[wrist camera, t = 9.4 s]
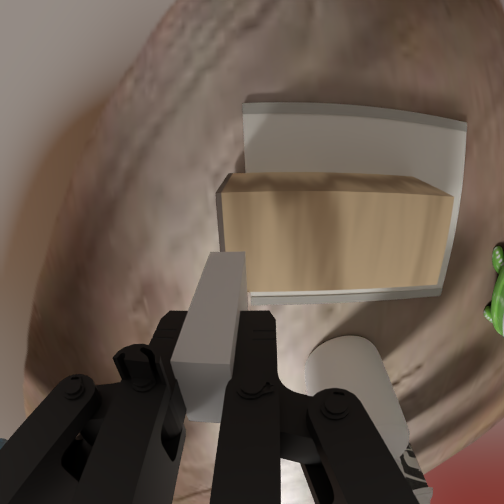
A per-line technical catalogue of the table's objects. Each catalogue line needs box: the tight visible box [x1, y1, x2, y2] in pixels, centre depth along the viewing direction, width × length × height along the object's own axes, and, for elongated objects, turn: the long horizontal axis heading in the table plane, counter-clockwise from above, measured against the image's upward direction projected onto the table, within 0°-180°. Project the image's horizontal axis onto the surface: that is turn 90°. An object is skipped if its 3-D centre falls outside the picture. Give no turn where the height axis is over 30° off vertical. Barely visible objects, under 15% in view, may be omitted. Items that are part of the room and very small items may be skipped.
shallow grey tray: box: [242, 102, 467, 305], centre depth 22 cm, size 18×16×1 cm
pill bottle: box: [305, 336, 409, 478], centre depth 22 cm, size 8×8×15 cm
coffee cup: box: [399, 443, 433, 504], centre depth 28 cm, size 10×10×15 cm
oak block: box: [216, 172, 454, 292], centre depth 19 cm, size 6×6×14 cm
